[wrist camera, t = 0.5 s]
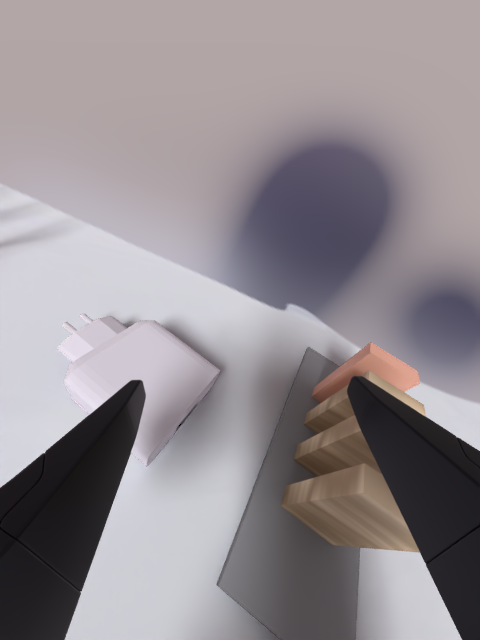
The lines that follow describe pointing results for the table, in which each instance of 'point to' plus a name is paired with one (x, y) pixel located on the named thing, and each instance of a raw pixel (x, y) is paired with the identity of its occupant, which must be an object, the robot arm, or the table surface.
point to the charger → (137, 375)
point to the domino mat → (292, 539)
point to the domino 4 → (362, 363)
